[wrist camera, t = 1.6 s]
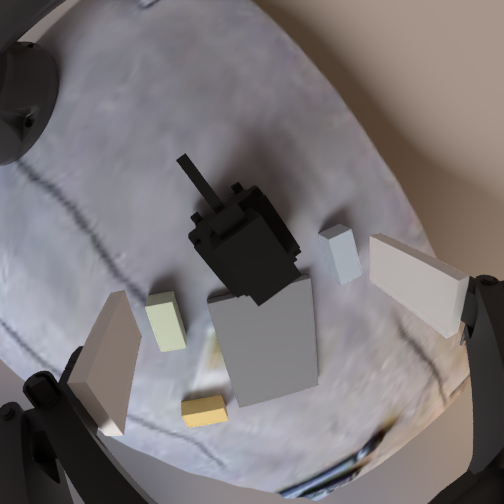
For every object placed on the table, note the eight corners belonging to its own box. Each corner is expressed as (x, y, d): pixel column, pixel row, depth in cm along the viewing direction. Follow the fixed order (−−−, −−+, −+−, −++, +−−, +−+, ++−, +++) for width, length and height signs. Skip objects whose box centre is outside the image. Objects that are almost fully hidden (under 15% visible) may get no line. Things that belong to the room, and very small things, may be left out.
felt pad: (206, 299, 32) (207, 304, 31) (306, 274, 34) (310, 278, 32) (238, 402, 38) (239, 407, 37) (315, 379, 39) (318, 384, 38)
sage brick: (148, 294, 31) (145, 306, 28) (173, 289, 31) (172, 301, 28) (162, 337, 33) (161, 352, 30) (186, 333, 33) (186, 347, 30)
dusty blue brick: (317, 233, 32) (328, 239, 30) (338, 223, 33) (351, 228, 30) (330, 276, 35) (341, 285, 32) (350, 266, 35) (362, 274, 32)
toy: (214, 137, 27) (225, 123, 18) (289, 244, 32) (327, 277, 23) (155, 182, 27) (135, 190, 18) (235, 283, 32) (253, 331, 23)
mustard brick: (187, 413, 37) (188, 427, 34) (181, 401, 36) (181, 415, 33) (225, 405, 38) (228, 420, 35) (221, 393, 37) (223, 408, 34)
